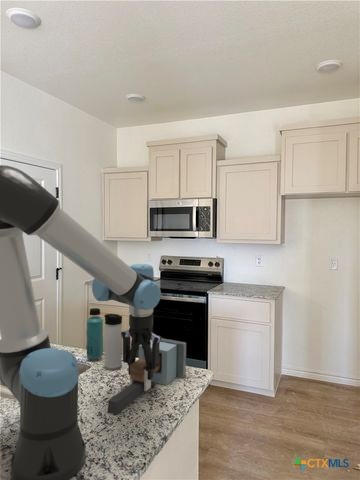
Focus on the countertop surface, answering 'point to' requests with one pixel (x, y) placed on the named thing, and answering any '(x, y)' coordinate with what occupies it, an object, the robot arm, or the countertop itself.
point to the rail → (125, 397)
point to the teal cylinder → (94, 334)
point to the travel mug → (113, 342)
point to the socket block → (164, 363)
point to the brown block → (142, 368)
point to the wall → (179, 356)
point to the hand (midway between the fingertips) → (140, 387)
